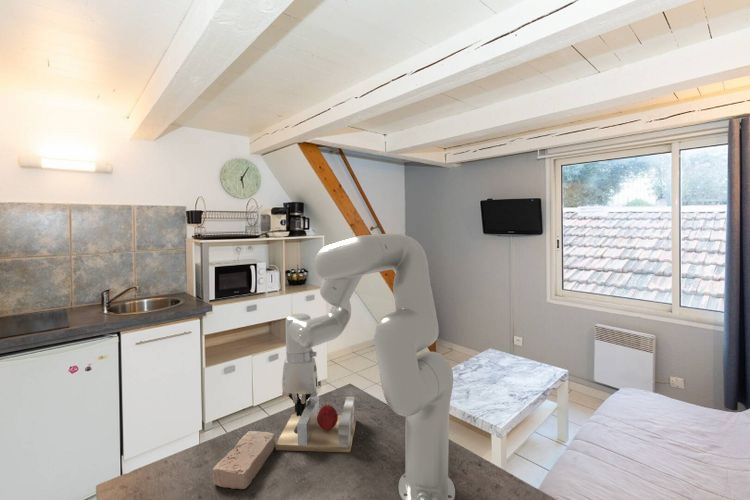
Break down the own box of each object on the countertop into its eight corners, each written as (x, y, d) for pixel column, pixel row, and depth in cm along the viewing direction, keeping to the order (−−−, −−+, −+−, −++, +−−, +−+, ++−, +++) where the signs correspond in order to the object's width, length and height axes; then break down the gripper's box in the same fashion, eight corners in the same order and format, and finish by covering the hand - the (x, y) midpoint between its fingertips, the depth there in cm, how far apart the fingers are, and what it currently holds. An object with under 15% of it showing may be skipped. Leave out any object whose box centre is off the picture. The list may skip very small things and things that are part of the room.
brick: (248, 443, 97) (247, 427, 97) (277, 446, 96) (276, 430, 96) (211, 488, 81) (210, 469, 81) (245, 493, 80) (244, 473, 79)
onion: (341, 428, 101) (341, 401, 101) (329, 438, 97) (328, 410, 96) (326, 422, 104) (325, 396, 104) (313, 431, 100) (312, 404, 99)
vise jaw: (307, 445, 94) (306, 424, 93) (292, 444, 94) (292, 423, 93) (319, 414, 108) (319, 396, 108) (306, 414, 109) (306, 395, 108)
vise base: (350, 452, 93) (349, 425, 92) (275, 449, 94) (275, 423, 94) (356, 420, 108) (356, 397, 107) (292, 418, 109) (291, 395, 109)
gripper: (326, 351, 109) (327, 408, 111) (278, 350, 110) (280, 407, 111) (321, 360, 102) (322, 421, 103) (270, 359, 102) (272, 420, 104)
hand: (300, 413), depth 107 cm, fingers closed
